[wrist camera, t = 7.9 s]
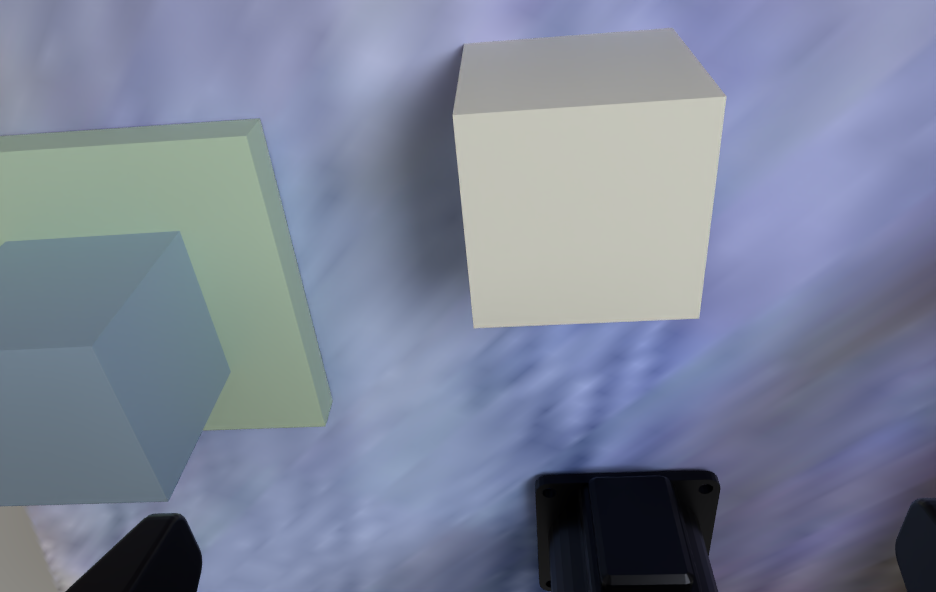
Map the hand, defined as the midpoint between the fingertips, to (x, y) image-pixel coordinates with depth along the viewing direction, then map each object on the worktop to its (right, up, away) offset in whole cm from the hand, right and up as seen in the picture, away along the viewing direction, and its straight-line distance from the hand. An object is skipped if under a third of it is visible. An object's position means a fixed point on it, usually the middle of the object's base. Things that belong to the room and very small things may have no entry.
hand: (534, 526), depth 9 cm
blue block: (-11, +2, +12) cm, 16 cm away
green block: (-11, +3, +13) cm, 17 cm away
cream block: (+2, +7, +10) cm, 12 cm away
